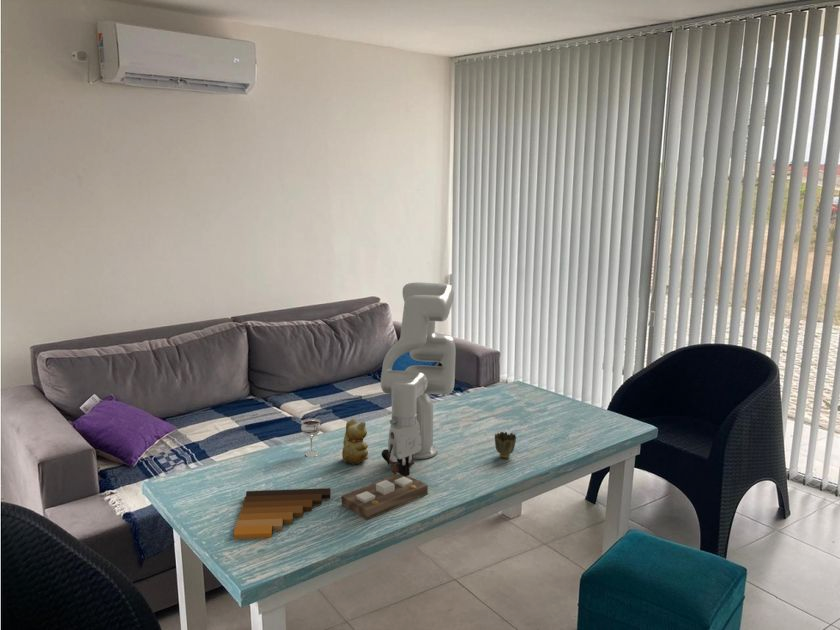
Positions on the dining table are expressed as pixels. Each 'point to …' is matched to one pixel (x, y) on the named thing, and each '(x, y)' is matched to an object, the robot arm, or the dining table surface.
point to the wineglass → (311, 431)
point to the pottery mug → (394, 467)
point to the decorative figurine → (355, 442)
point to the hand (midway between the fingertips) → (404, 474)
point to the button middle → (385, 487)
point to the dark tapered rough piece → (505, 444)
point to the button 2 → (403, 482)
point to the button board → (383, 497)
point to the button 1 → (365, 497)
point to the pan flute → (275, 510)
